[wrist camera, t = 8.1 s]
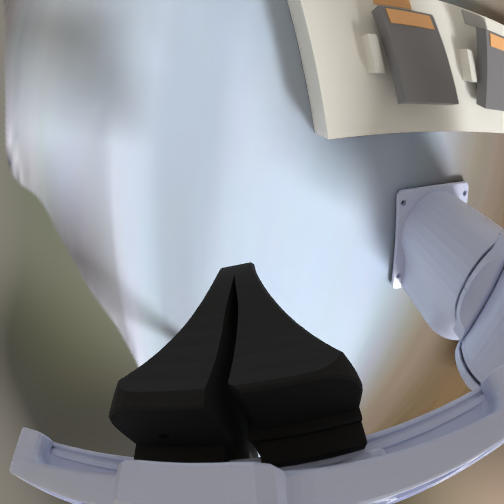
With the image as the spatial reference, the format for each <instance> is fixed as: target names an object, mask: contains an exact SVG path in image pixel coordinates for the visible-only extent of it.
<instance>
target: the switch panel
mask: <svg viewBox="0 0 504 504" xmlns="http://www.w3.org/2000/svg"><path fill="white" fill-rule="evenodd" d="M287 2H288V6H289V9H290V13H291V17H292V21H293V25H294V29H295V33H296V37H297V42H298V46H299V50H300V55H301V60H302V64H303V69H304V74H305V79H306V84H307V89H308V95H309V100H310V106H311V112H312V118H313V124H314V131H315V134H317V135H320V136H322V137H324V138H326V139H336V138H345V137H354V136H364V135H376V134H389V133H405V132H432V131H470V132H495V133H504V111H499V110H493V109H485V108H483V107H481V106H479V105H477V104H476V100H477V76H478V60H477V37H476V27H479V28H484V29H487V30H490V31H492V32H495V33H497V34H499V35H502V36H504V25H502V24H500V23H498V22H496V21H493V20H491V19H489V18H487V17H484V16H482V15H479V14H477V13H474V12H472V11H469V10H467V9H464V8H461V7H458V6H455V5H452V4H449V3H446V2H443V1H439V0H287ZM378 5H381V6H388V7H395V8H401V9H407V10H412V11H417V12H422V13H427V14H431V15H433V17H434V20H435V22H436V25H437V27H438V30H439V33H440V36H441V39H442V41H443V44H444V48H445V51H446V54H447V57H448V61H449V64H450V68H451V71H452V75H453V79H454V83H455V87H456V92H457V97H458V101H459V104H457V105H432V104H398V100H397V96H396V91H395V87H394V83H393V79H392V75H391V71H390V67H389V64H388V60H387V57H386V53H385V50H384V47H383V43H382V40H381V37H380V34H379V31H378V28H377V26H376V23H375V20H374V17H373V15H372V11H373V10H374V9H375V8H376V7H377V6H378Z"/></svg>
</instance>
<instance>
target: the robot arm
mask: <svg viewBox="0 0 504 504" xmlns="http://www.w3.org/2000/svg"><path fill="white" fill-rule="evenodd" d="M463 192H464V193H463ZM467 197H468V183H466V182H465V181H461V182H453V183H446V184H438V185H431V186H424V187H417V188H410V189H403V190H400V191H399V192H398V193H397V196H396V232H395V249H394V262H393V272H392V282H391V285H392V287H393V288H395V289H396V288H400V287H403V289H404V290H405V292H406V293H407V294H408V296H409V297H410V299H411V300H412V301H413V303H414V304H415V306H416V307H417V309H418V310H419V312H420V313H421V315H422V316H423V318H424V319H425V321H426V322H427V324H428V325H429V326H430V328H431V329H432V330H433V331H435V332H436V333H437V334H439V335H441V336H442V337H445V338H447V339H451V340H460V341H459V342H458V344H457V347H456V350H455V360H456V364H457V367H458V370H459V372H460V375H461V377H462V379H463V380H464V382H465V383H466V385H467V386H468V387H469V388H470V389H471V390H472V391H471V392H469V393H467V394H466V395H464V396H462V397H460V398H458V399H456V400H454V401H452V402H450V403H448V404H446V405H444V406H442V407H440V408H437V409H435V410H433V411H431V412H429V413H426V414H424V415H422V416H419V417H417V418H414V419H412V420H409V421H407V422H404V423H402V424H399V425H396V426H394V427H391V428H388V429H385V430H382V431H379V432H376V433H373V434H370V435H366V436H365V432H364V429H363V426H362V422H361V421H362V415H361V412H360V408H359V405H360V401H361V396H362V391H363V390H362V383H361V380H360V378H359V376H358V374H357V372H356V371H355V369H354V367H353V366H352V364H351V363H350V361H349V360H348V359H347V357H346V356H345V354H344V353H343V352H341V351H339V350H337V349H335V348H333V347H331V346H330V345H328V344H326V343H324V342H323V341H321V340H320V339H318V338H317V337H315V336H313V335H312V334H311V333H309V332H308V331H307V330H305V329H304V328H303V327H301V326H300V325H299V324H297V323H296V322H295V321H294V320H293V319H292V318H291V317H290V316H289V315H288V314H286V313H285V312H284V311H283V310H282V308H281V307H280V306H279V305H278V304H277V303H276V302H275V300H274V299H273V298H272V297H271V295H270V294H269V293H268V291H267V290H266V288H265V287H264V285H263V284H262V282H261V281H260V279H259V277H258V275H257V273H256V270H255V266H254V264H253V263H251V262H250V263H245V264H240V265H235V266H230V267H225V268H221V269H220V271H219V273H218V275H217V276H216V278H215V280H214V282H213V284H212V286H211V287H210V289H209V291H208V292H207V294H206V296H205V297H204V299H203V301H202V302H201V304H200V305H199V307H198V308H197V310H196V311H195V312H194V314H193V315H192V317H191V318H190V319H189V321H188V322H187V323H186V324H185V326H184V327H183V328H182V329H181V330H180V331H179V332H178V334H177V335H176V336H175V337H174V338H173V339H172V340H171V341H170V342H168V343H167V344H166V345H165V346H164V347H163V348H162V349H161V350H160V351H159V352H158V353H157V354H155V355H154V356H153V357H152V358H151V359H149V360H148V361H147V362H145V363H144V364H143V365H141V366H140V367H139V368H137V369H136V370H134V371H133V372H131V373H130V374H128V375H127V376H125V377H124V378H122V379H120V380H119V381H118V384H117V387H116V390H115V393H114V397H113V400H112V404H111V408H110V412H109V419H110V421H111V422H112V424H113V425H114V426H115V427H116V428H117V429H118V430H119V431H121V432H122V433H123V434H124V435H125V436H127V437H128V438H129V439H131V440H132V441H133V442H134V443H136V449H135V456H134V457H125V456H117V455H110V454H105V453H99V452H94V451H88V450H83V449H79V448H74V447H70V446H66V445H62V444H58V443H55V442H52V441H51V440H50V439H49V438H48V437H47V436H45V435H44V434H42V433H40V432H38V431H35V430H32V429H28V428H25V427H24V428H22V431H21V434H20V437H19V440H18V443H17V446H16V449H15V453H14V456H13V459H12V463H11V467H10V473H12V474H14V475H15V476H17V477H19V478H20V479H22V480H24V481H25V482H27V483H29V484H31V485H33V486H35V487H36V488H38V489H41V490H42V491H44V492H46V493H48V494H50V495H53V496H55V497H57V498H60V499H62V500H65V501H68V502H70V503H73V504H393V503H396V502H398V501H401V500H403V499H406V498H408V497H410V496H413V495H415V494H417V493H419V492H422V491H424V490H426V489H428V488H430V487H432V486H434V485H436V484H438V483H440V482H442V481H444V480H446V479H448V478H449V477H451V476H453V475H455V474H457V473H459V472H460V471H462V470H464V469H465V468H467V467H469V466H470V465H472V464H473V463H475V462H477V461H478V460H480V459H481V458H483V457H484V456H486V455H487V454H489V453H490V452H492V451H493V450H495V449H496V448H497V447H499V446H500V445H502V444H503V443H504V229H503V228H501V227H500V226H499V225H497V224H496V223H495V222H493V221H492V220H490V219H489V218H488V217H486V216H485V215H483V214H482V213H480V212H479V211H477V210H476V209H474V208H473V207H471V206H470V205H468V204H467ZM403 200H404V203H403V204H401V202H402V201H403ZM397 274H398V275H397ZM396 275H397V276H396ZM257 451H258V452H257ZM258 453H259V455H260V456H261V457H259V458H258Z"/></svg>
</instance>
